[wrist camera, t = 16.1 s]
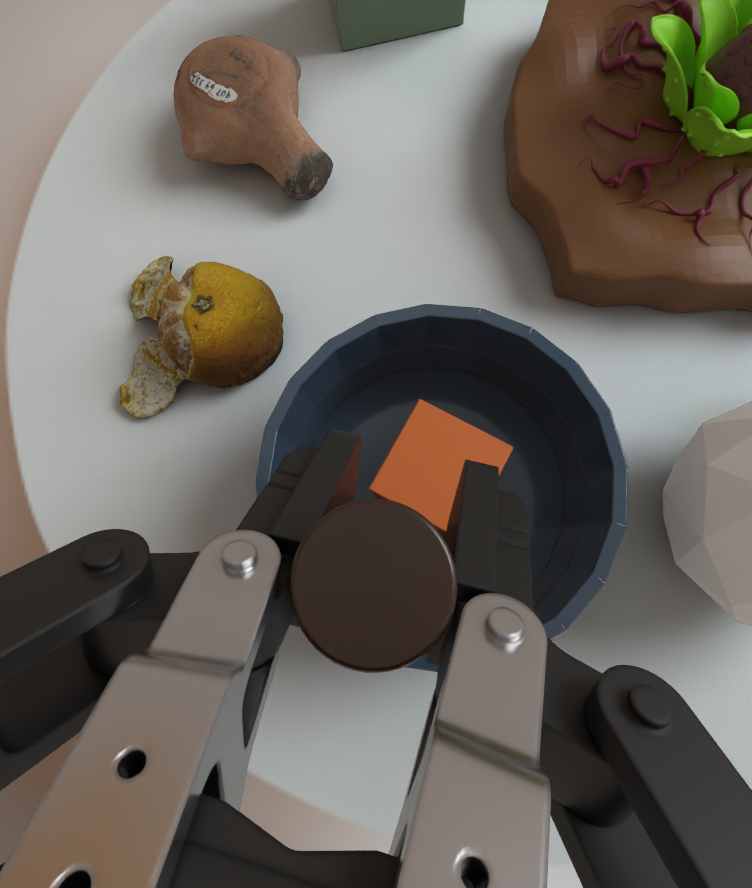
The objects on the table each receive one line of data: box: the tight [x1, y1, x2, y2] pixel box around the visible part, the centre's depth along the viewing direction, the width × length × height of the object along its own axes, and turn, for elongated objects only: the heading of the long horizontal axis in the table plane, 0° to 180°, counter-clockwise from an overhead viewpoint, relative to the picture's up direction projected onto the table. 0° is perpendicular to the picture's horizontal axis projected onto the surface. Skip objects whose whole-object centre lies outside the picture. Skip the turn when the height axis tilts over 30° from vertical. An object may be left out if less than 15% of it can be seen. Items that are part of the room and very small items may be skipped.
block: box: [369, 399, 513, 537], centre depth 20 cm, size 4×4×4 cm
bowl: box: [256, 304, 628, 672], centre depth 20 cm, size 13×13×6 cm
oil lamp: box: [174, 35, 333, 200], centre depth 26 cm, size 9×4×8 cm
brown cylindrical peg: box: [290, 499, 457, 673], centre depth 11 cm, size 3×3×9 cm
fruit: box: [120, 256, 283, 418], centre depth 23 cm, size 8×8×4 cm
